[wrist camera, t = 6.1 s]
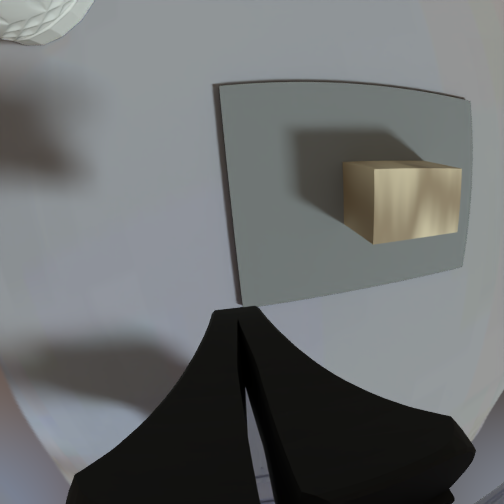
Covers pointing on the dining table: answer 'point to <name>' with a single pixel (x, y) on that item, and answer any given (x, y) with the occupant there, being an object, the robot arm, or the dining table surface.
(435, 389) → the dining table surface
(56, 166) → the dining table surface
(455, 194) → the maple block
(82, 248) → the dining table surface
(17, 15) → the white cup
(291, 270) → the rubber mat
